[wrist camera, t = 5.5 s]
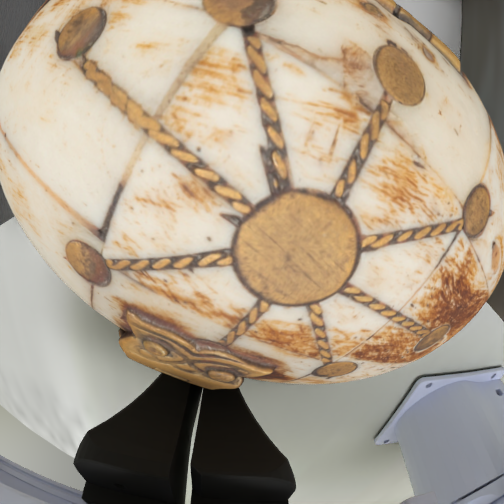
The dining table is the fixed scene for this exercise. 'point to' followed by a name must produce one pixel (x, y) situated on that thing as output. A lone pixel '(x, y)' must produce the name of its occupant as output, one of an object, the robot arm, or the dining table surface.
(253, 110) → the trinket box
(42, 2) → the bookend
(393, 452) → the dining table surface
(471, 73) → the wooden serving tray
